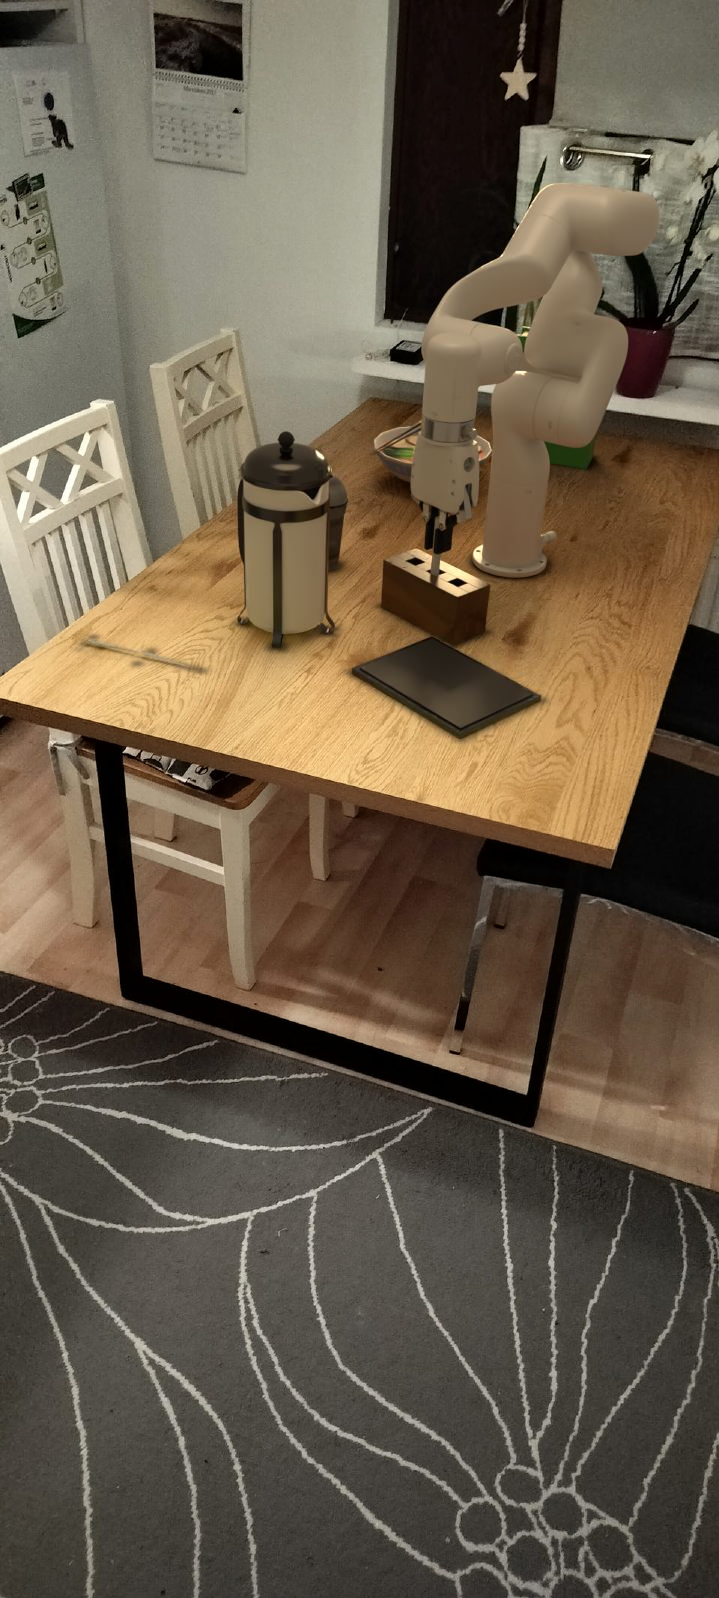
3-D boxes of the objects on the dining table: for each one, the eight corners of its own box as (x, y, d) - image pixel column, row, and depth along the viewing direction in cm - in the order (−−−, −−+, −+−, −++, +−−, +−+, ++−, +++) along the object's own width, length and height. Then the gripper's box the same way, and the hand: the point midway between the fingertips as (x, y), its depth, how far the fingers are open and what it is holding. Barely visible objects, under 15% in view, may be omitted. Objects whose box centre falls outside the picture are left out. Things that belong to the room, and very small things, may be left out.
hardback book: (501, 455, 245) (514, 335, 231) (510, 444, 251) (523, 326, 237) (586, 468, 241) (605, 346, 227) (592, 456, 247) (611, 337, 233)
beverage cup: (341, 577, 196) (344, 458, 184) (298, 571, 197) (299, 453, 185) (350, 559, 202) (354, 443, 190) (308, 554, 203) (310, 438, 191)
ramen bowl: (451, 515, 219) (455, 472, 214) (346, 487, 228) (347, 445, 223) (510, 476, 236) (515, 435, 231) (410, 451, 245) (413, 411, 241)
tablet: (351, 672, 170) (351, 666, 170) (431, 640, 179) (431, 634, 179) (460, 739, 157) (460, 732, 157) (540, 700, 166) (541, 694, 166)
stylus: (194, 670, 167) (77, 642, 172) (194, 676, 168) (77, 648, 173) (207, 657, 170) (92, 630, 176) (207, 663, 171) (92, 636, 176)
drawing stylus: (431, 601, 184) (439, 515, 176) (438, 604, 183) (445, 518, 175) (426, 604, 183) (433, 517, 175) (432, 606, 182) (440, 520, 174)
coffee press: (346, 608, 187) (353, 418, 169) (321, 656, 174) (325, 455, 156) (241, 594, 190) (236, 405, 172) (208, 640, 177) (199, 441, 159)
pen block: (412, 594, 192) (416, 548, 187) (485, 632, 182) (490, 584, 177) (380, 606, 188) (383, 559, 183) (453, 645, 178) (457, 597, 174)
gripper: (506, 437, 165) (492, 561, 176) (428, 408, 174) (419, 527, 185) (468, 448, 161) (456, 574, 171) (390, 417, 170) (384, 538, 181)
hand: (437, 548), depth 178 cm, fingers closed on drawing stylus, 1 cm apart
